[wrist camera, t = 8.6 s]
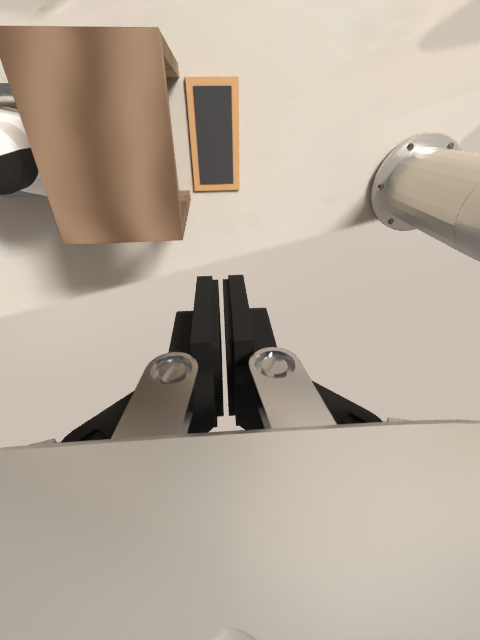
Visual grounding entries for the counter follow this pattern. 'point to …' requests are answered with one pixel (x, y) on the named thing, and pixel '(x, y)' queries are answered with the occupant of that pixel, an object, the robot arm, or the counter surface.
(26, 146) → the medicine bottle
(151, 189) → the walnut tunnel
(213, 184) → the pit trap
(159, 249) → the counter surface
